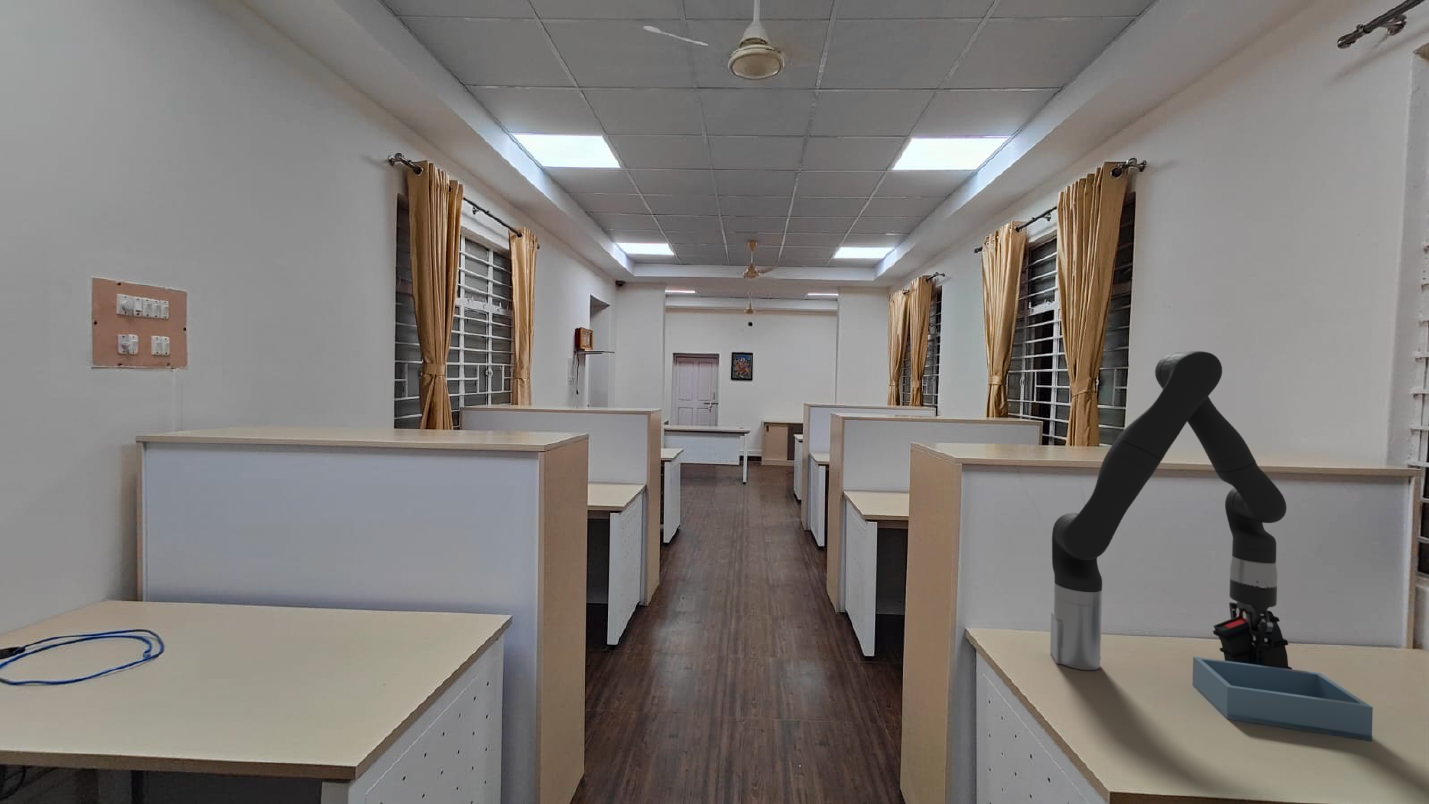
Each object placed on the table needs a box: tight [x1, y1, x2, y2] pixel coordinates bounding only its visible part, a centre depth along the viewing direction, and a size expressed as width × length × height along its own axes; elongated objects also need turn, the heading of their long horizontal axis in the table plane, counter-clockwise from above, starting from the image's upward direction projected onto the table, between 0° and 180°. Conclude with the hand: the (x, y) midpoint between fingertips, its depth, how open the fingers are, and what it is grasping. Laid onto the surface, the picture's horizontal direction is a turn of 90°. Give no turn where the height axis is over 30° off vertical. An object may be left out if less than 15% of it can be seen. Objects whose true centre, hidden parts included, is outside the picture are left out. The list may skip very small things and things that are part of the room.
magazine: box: [1212, 610, 1293, 669], centre depth 128 cm, size 4×13×15 cm, turn 84°
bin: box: [1191, 656, 1374, 742], centre depth 114 cm, size 21×14×6 cm, turn 72°
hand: (1250, 659), depth 128 cm, fingers closed on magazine, 4 cm apart
